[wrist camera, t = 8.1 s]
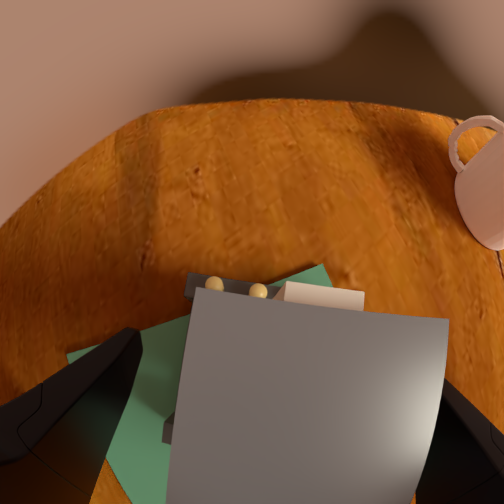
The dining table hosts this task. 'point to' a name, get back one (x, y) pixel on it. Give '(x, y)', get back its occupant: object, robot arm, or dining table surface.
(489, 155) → the mug
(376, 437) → the grey tall block
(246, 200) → the dining table surface
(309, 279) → the board
